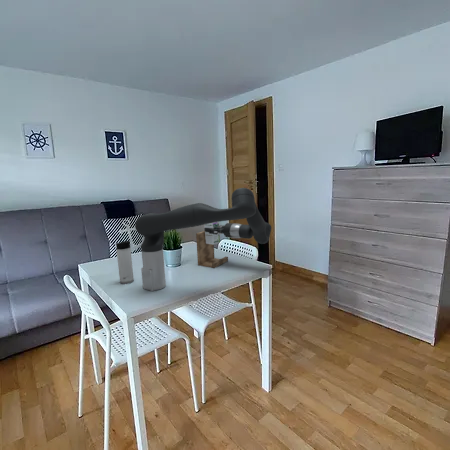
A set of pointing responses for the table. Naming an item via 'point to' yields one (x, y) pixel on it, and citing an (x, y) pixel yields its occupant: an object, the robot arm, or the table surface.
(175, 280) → the table surface
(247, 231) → the robot arm
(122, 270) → the travel mug
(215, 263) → the board
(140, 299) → the table surface
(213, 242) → the syrup box
